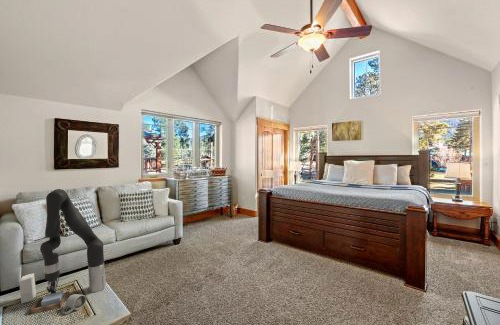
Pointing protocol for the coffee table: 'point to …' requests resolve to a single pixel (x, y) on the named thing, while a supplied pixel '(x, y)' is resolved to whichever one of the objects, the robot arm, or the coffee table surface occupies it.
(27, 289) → the skincare box
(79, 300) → the ceramic mug
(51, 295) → the slate carton
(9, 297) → the coffee table surface
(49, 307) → the display bay
